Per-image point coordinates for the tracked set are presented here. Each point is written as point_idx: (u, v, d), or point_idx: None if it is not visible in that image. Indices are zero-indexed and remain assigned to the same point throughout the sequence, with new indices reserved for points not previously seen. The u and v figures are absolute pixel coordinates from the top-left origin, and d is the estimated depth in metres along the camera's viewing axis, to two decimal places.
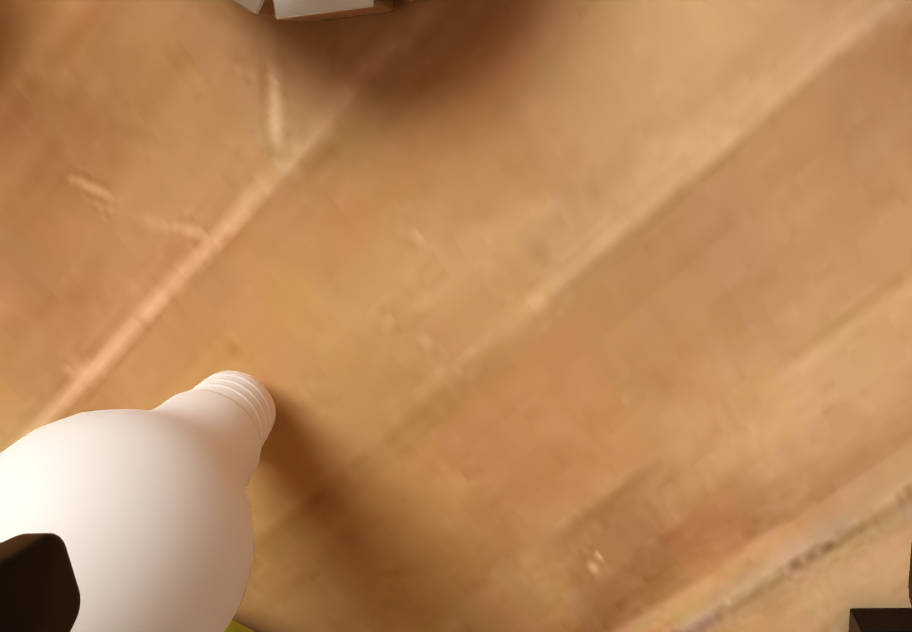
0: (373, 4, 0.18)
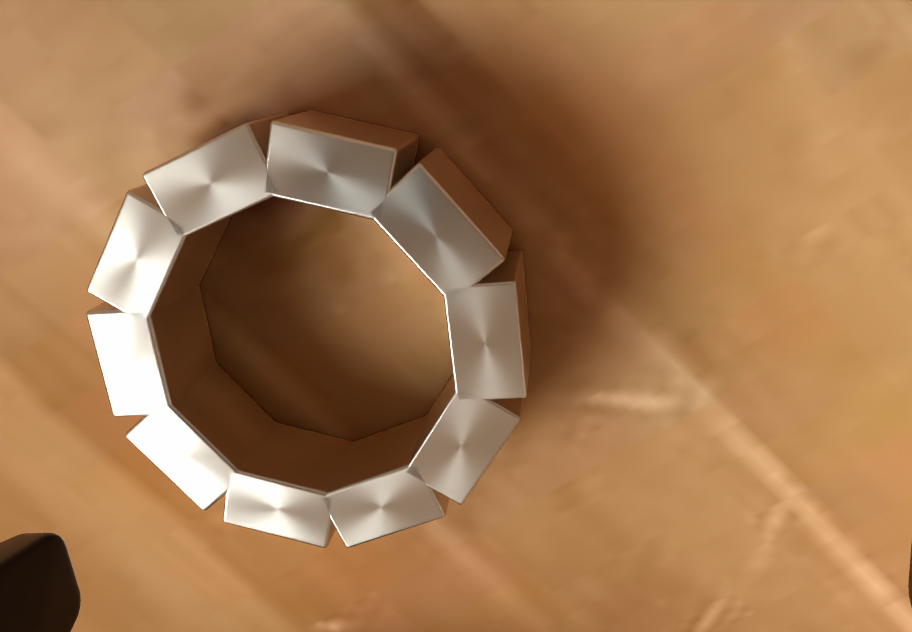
0: (512, 281, 0.15)
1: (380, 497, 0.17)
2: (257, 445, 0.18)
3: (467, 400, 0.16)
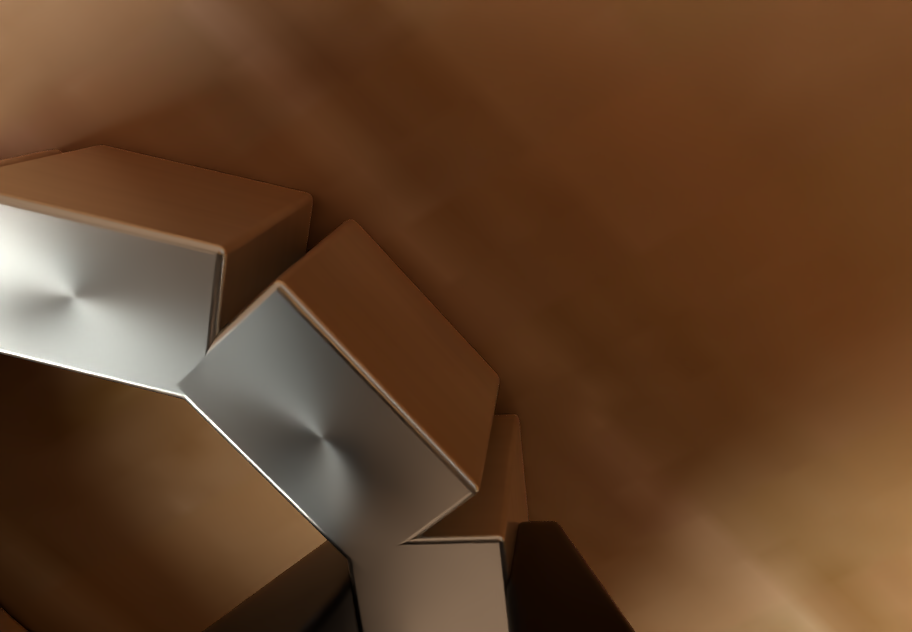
0: (497, 538, 0.07)
1: None
2: None
3: None
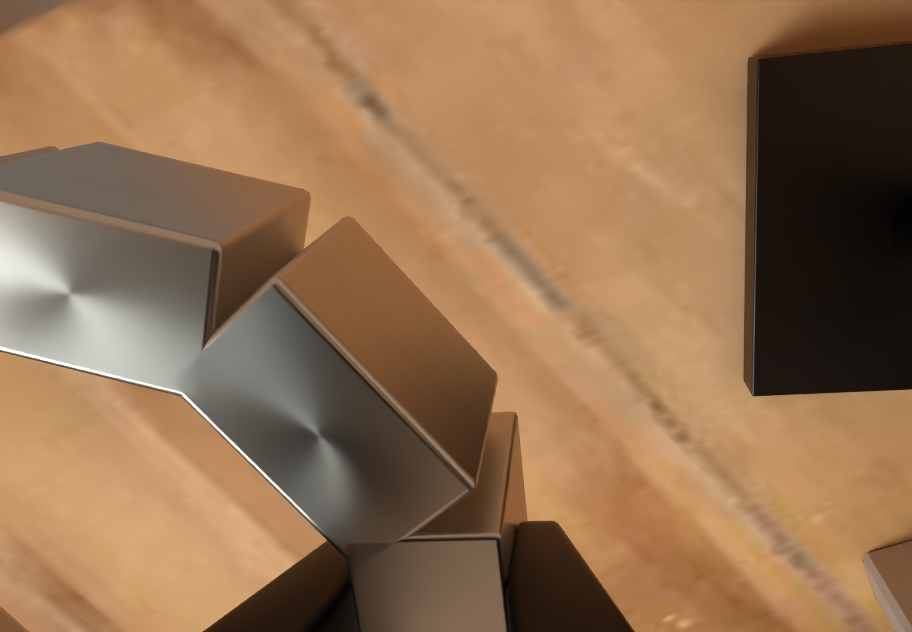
0: (494, 535, 0.07)
1: None
2: None
3: None
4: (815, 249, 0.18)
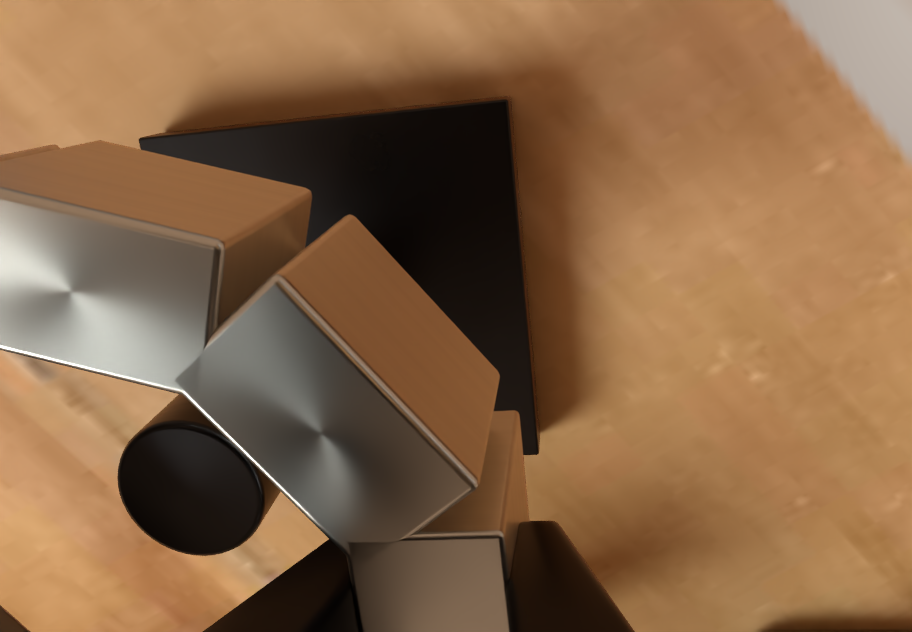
0: (497, 533, 0.07)
1: None
2: None
3: None
4: None
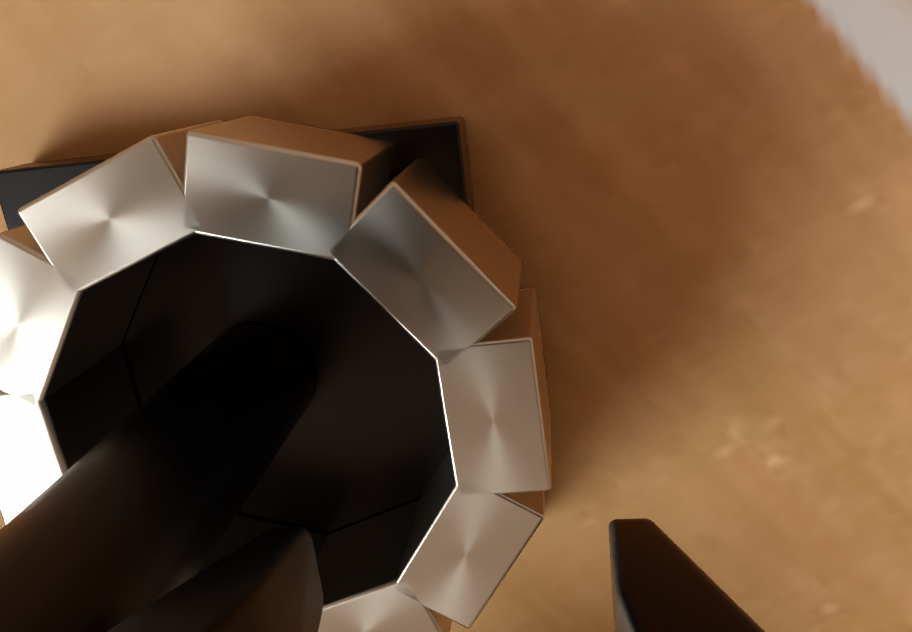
0: (528, 338, 0.11)
1: (361, 621, 0.13)
2: None
3: (471, 495, 0.12)
4: None
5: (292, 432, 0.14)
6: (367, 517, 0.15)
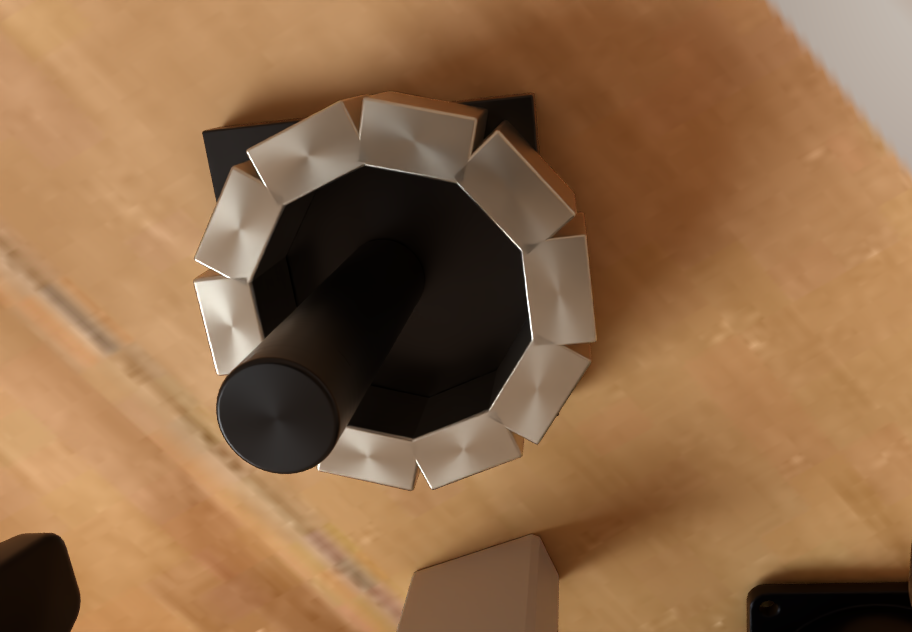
0: (583, 234, 0.17)
1: (462, 440, 0.18)
2: None
3: (542, 346, 0.17)
4: None
5: (406, 320, 0.20)
6: (458, 384, 0.21)
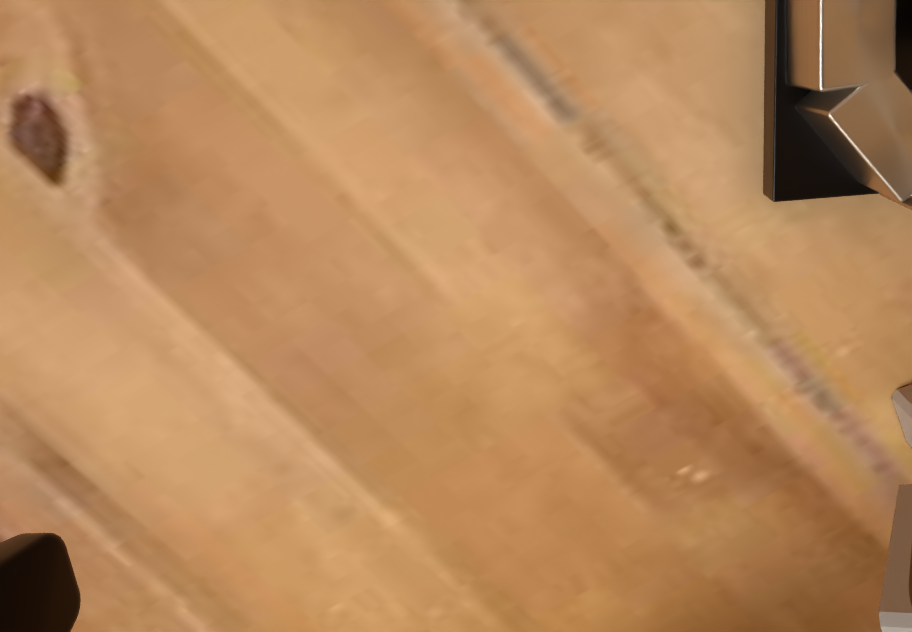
0: None
1: None
2: None
3: None
4: None
5: None
6: None
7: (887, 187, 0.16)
